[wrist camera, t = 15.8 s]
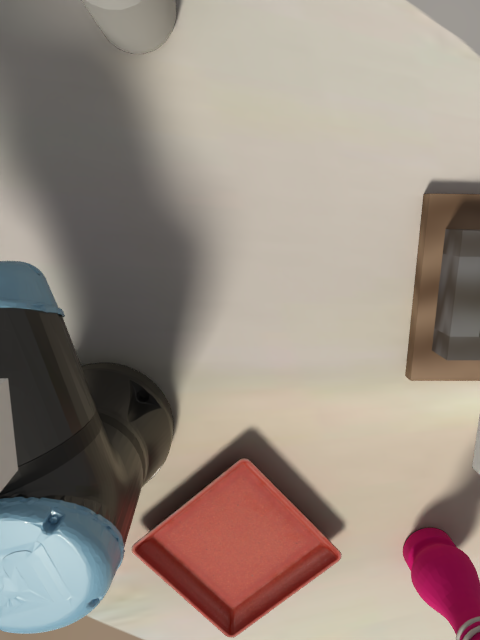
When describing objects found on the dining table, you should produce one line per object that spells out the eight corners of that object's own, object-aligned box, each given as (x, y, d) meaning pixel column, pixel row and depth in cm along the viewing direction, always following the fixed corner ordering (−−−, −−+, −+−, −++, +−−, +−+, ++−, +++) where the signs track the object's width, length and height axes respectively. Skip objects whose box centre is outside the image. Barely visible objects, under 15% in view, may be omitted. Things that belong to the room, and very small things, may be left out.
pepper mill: (466, 547, 57) (591, 718, 38) (423, 582, 58) (523, 767, 39) (430, 512, 56) (540, 671, 36) (386, 549, 57) (471, 723, 37)
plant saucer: (230, 619, 59) (231, 642, 56) (133, 531, 56) (127, 550, 52) (338, 537, 57) (345, 557, 54) (243, 440, 53) (245, 455, 50)
